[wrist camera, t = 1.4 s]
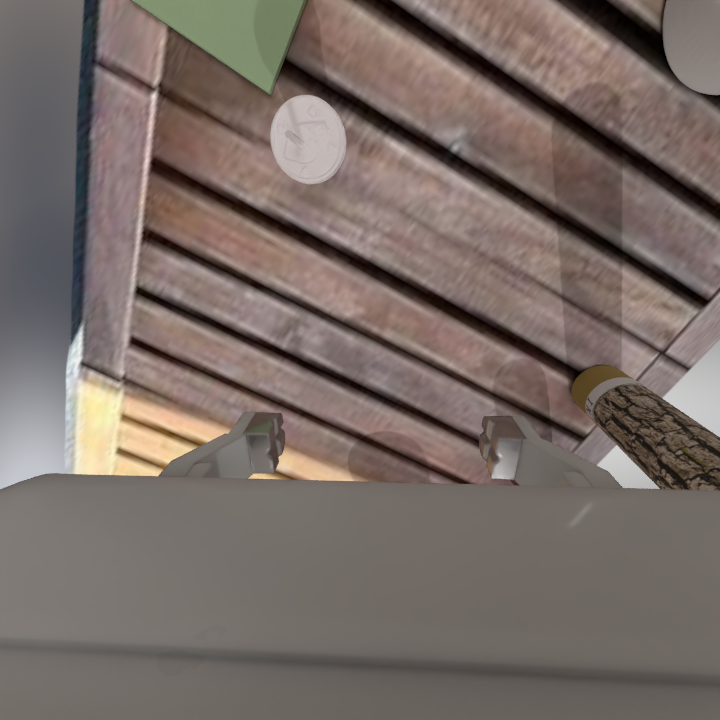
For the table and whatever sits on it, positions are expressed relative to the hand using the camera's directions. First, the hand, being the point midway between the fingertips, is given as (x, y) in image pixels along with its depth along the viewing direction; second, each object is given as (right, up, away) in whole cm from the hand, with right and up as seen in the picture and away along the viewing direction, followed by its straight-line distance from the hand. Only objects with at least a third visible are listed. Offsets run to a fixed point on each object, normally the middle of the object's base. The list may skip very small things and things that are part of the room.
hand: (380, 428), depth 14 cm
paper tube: (+31, -1, +32) cm, 45 cm away
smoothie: (-5, +25, +23) cm, 35 cm away
